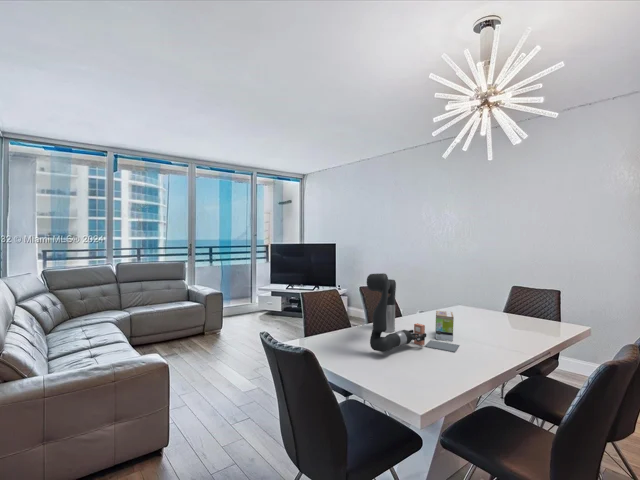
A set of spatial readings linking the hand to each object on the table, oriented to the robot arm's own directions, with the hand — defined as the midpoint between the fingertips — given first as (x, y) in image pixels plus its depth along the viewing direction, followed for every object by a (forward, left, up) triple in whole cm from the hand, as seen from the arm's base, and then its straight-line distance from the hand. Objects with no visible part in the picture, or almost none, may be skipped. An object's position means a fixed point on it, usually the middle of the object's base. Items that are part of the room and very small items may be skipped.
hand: (419, 333), depth 192 cm
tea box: (+9, +22, -6) cm, 25 cm away
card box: (0, 0, -6) cm, 6 cm away
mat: (+12, +3, -6) cm, 14 cm away
